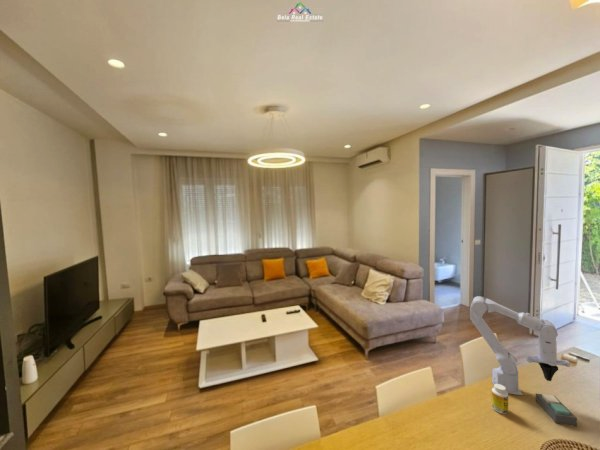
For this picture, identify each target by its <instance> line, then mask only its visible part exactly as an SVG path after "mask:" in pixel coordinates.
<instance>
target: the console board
mask: <svg viewBox="0 0 600 450" xmlns="http://www.w3.org/2000/svg"><path fill="white" fill-rule="evenodd" d="M535 401H536V402H537V404H538V405H539V406H540V407H541V408H542V410H543V411H544V412H545V413H546V414H547V415H548V416H549V417H550V419H551V420H552V421H553V423H555V424H559V425H565V426H571V427H578V423H577V424H573V423H567V422H560V421H555V420H554V419H553V417H552V416H551V415H550V414H549V413H548V412H547V411H546V410H545V408H544V407H543V406H542V405H541V404H540V403H539V402H538V400H537V399H536V398H535Z"/></svg>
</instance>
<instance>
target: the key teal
mask: <svg viewBox="0 0 600 450" xmlns="http://www.w3.org/2000/svg"><path fill="white" fill-rule="evenodd" d="M563 405H564V404H563ZM563 405H560V404H553V403H550V407H551V408H552V409H553V410H554V411H555V412H556V413H559V414H566V415H570V412H571V411H570V410H569V409H568V408H567V407H566V406H565V405H564V406H565V407H566V408H567V409H568V410H569V411H570V412H569V411H568V410H567V409H566V408H565V407H564V406H563Z"/></svg>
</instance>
